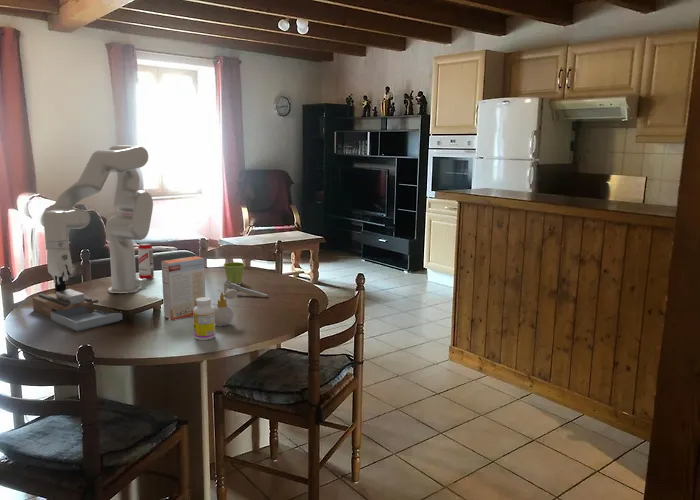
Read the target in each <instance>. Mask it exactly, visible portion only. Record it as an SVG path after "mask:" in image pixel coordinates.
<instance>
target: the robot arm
mask: <svg viewBox="0 0 700 500" xmlns="http://www.w3.org/2000/svg"><path fill="white" fill-rule="evenodd" d="M148 161H149V153H148V151H147V149H146V148H145V147H143V146H142V145H131V144H130V145H125V144H124V145H123V144H117V145H112V146H110V147H109V149H98V150H96V151H94V152H93V153H92V154H91V156H90V158H89V160H88V161H87V163H86V165H85V167H84V169H83V171H82V173H81V174H80V177H79V178H78V180H76V181H75V183H73V184H72V185H70V186H69V187H68V188H66V189H65V190H64V191H63V192H62V193H61V194H60V195H59V196H58V197H57V200H56V201H55V203H54V205H53V207H52V209H51V210H45V212H44V213H43V217H42V218H43V227H44V228H43V231H44V240H45V250H46V265H47V272H48V274H50V275H51V277H52V278H53V284H54V293H55V294H56V291H62V290H67V281H69V276H73V275H74V270H73V261H72V256H71V251H70V238H69V230H71V229H72V230H76V229H77V230H81V229H84V228H86V227H87V226H88V225H89V224H90V222H91V215H90V213H89V212H88V211H87V210H86V209H83V208H79V207H75V206H76V205H77V204H78V203H79V202H81V201H83V200H84V199H85V200H86V199H88V198H90V197H93V196H95V195H96V194H98V193H100V192H101V191H102V189H103V187H104V186H105V183H106V181H107V180H108V177H109V175H110V173H116V175H117V181H116V187H115V194H114V197H113V198H114V200H113V204H114V205H113V207H114V208H115V210H117V211H118V212H121V213H127V214H128V213H129V214H132V216H131V215H125V214H124V215H123V214H121V215H120V214H118V215H117V214H116V215H112V216H111V217H109V218H108V219H107V221H106V223H105V231H106V236H107V239H108V244H109V261H110V277H111V286H110V287H108V288H107V291H108V293H110V294H113V293H112V292H130V293H129V294H132V293H137V292H139V291H140V290H141V286H140V285H141V284H146V283H148V280H147V279H146V278H144V279H141V278H140V277H139V278H137V274H136V273H137V271H136V269H137V268H136V251H135V250H136V249H135V246H134V243H133V241H142V240H144V239H146V237H147V236H148V234H149V232H150V228H151V223H152V222H151V221H152V216H153V209H154V201H153V200H154V199H153V197H152V195H151V194H150V193H149V192H148V191H145V190H142V189H141V190H139V187H140V175H139V173H138V170H137V169H140V168H143V167H144V166H146V165H147V163H148Z"/></svg>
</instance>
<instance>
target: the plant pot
mask: <svg viewBox="0 0 700 500" xmlns="http://www.w3.org/2000/svg"><path fill="white" fill-rule="evenodd" d="M223 267H224V271H225V275H226V281H227V280H228V281H230V280H231V281H230V283H233V284H234V283H240V282H243V275H244V269H245V267H246V264H245V263H244V262H240V261H239V262H237V261H236V262H235V261H233V262H226V263H224V264H223Z"/></svg>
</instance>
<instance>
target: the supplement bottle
mask: <svg viewBox="0 0 700 500" xmlns="http://www.w3.org/2000/svg"><path fill="white" fill-rule="evenodd" d="M196 304H197V306H196V307H195V308H194V309H193V316H192V317H193V337H194V339H195V338H196V340H197V339H198V341H209V340H211V339H213V338H215V336H216V324H215V312H214V308H215V307H214V306H213V305H212V298H211V297H208V296H205V297H201V298H197V299H196ZM208 339H209V340H208Z"/></svg>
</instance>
